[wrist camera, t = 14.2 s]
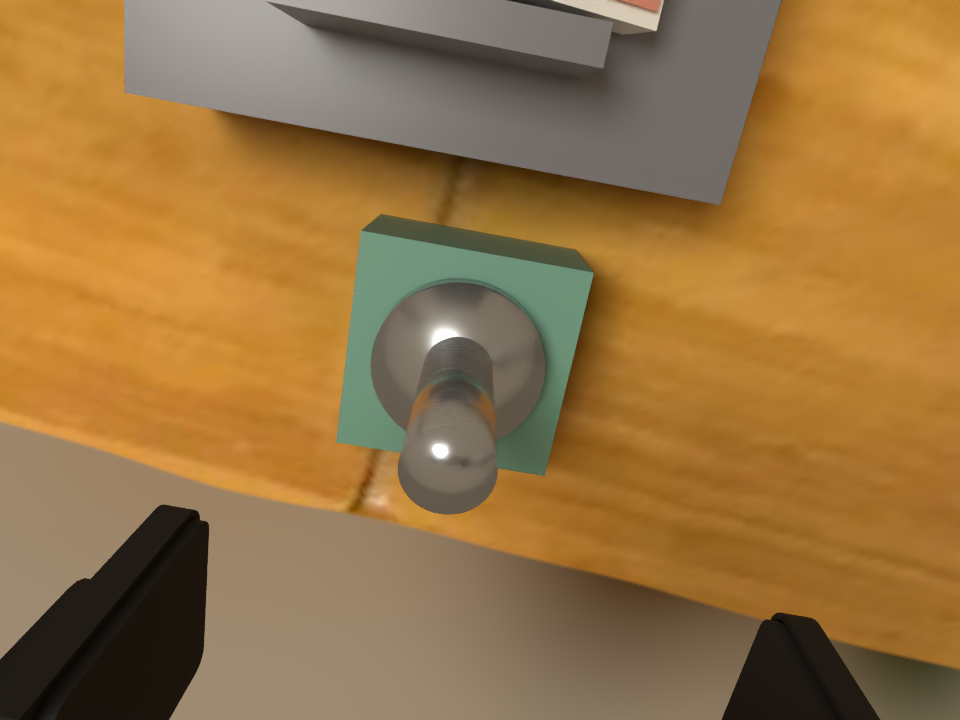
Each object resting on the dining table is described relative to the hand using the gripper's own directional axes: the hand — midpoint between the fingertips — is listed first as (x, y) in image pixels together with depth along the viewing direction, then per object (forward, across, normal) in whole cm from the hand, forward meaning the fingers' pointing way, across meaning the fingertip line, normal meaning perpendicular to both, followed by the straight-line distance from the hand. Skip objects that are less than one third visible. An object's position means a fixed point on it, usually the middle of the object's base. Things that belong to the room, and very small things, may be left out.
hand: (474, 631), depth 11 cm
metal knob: (+17, +1, 0) cm, 17 cm away
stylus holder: (+18, +1, 0) cm, 18 cm away
